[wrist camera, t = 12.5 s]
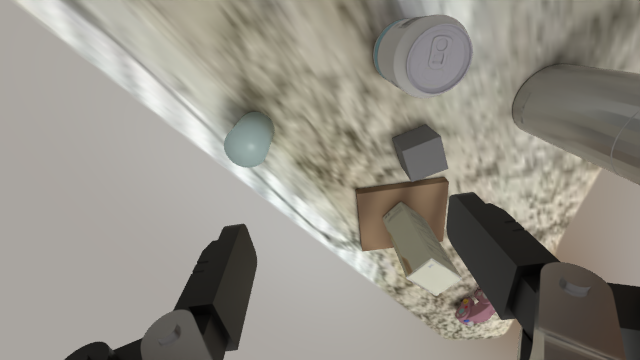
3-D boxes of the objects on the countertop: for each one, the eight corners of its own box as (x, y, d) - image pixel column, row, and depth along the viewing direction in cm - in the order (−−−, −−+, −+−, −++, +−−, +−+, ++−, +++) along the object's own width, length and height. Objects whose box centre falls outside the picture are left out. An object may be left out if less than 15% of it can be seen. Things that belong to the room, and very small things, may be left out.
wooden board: (444, 177, 42) (448, 181, 41) (439, 235, 48) (442, 241, 47) (355, 189, 43) (357, 194, 42) (361, 245, 49) (362, 251, 47)
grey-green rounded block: (269, 109, 36) (261, 124, 30) (278, 143, 39) (271, 164, 33) (233, 114, 37) (218, 131, 31) (244, 148, 39) (231, 170, 33)
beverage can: (367, 78, 35) (390, 98, 24) (377, 16, 31) (410, 8, 21) (418, 83, 35) (463, 105, 25) (434, 22, 32) (494, 18, 21)
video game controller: (487, 275, 56) (496, 295, 49) (504, 291, 55) (516, 314, 49) (448, 300, 59) (452, 321, 53) (464, 315, 59) (470, 339, 52)
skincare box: (381, 217, 44) (403, 277, 33) (400, 199, 42) (430, 257, 32) (407, 236, 46) (436, 298, 35) (427, 220, 44) (463, 280, 34)
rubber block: (425, 124, 38) (440, 136, 34) (433, 153, 40) (448, 168, 36) (391, 138, 39) (402, 151, 35) (401, 166, 41) (411, 182, 37)
